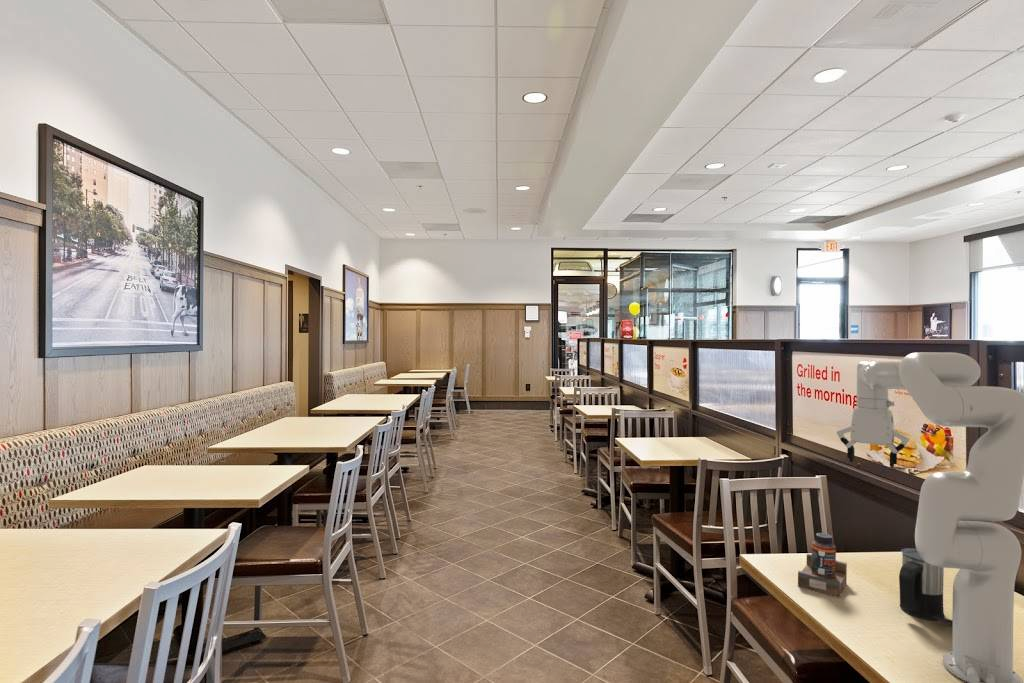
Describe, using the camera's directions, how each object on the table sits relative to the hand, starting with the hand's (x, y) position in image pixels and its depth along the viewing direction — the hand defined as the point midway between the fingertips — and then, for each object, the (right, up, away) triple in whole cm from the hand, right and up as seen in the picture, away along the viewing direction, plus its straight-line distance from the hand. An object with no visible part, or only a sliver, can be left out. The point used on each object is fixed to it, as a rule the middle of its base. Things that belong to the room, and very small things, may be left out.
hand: (871, 463), depth 153 cm
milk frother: (+3, -35, -20) cm, 40 cm away
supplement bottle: (-15, -31, -2) cm, 35 cm away
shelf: (-15, -34, -2) cm, 37 cm away
